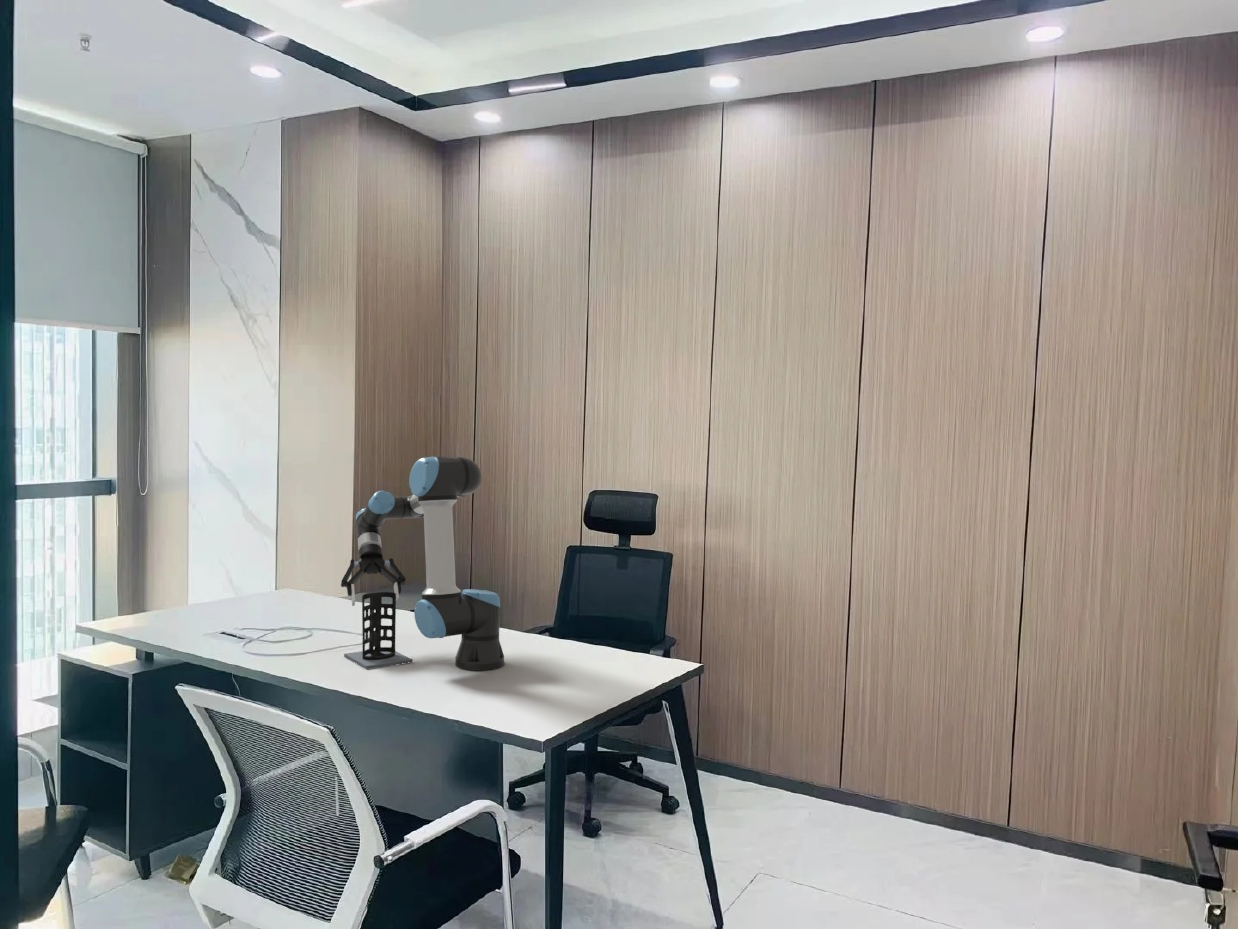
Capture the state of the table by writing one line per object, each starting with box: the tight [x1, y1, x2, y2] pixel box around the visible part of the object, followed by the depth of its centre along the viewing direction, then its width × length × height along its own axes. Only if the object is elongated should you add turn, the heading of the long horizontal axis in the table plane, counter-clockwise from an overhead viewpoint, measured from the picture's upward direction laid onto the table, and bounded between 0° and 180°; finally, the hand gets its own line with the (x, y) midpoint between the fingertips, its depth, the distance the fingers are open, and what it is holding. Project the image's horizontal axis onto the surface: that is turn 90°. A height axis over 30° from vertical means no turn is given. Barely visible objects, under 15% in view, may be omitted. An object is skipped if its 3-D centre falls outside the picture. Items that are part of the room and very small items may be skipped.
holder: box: [361, 591, 397, 660], centre depth 279 cm, size 11×8×20 cm
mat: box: [343, 650, 414, 670], centre depth 279 cm, size 18×15×1 cm
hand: (375, 602), depth 283 cm, fingers open, 13 cm apart
